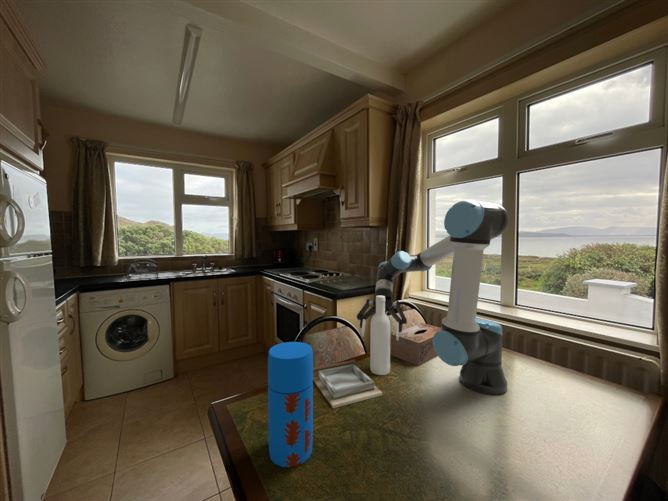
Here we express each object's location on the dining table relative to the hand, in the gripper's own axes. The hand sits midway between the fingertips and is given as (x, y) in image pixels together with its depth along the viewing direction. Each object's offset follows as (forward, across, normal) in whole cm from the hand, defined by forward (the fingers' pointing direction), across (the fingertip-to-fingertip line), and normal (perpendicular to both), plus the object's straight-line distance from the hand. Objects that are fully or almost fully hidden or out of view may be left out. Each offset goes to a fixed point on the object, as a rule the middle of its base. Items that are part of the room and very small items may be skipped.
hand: (379, 337), depth 105 cm
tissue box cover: (-8, -16, -28) cm, 34 cm away
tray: (+19, +10, -1) cm, 22 cm away
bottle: (+9, 0, -12) cm, 15 cm away
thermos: (+42, +16, +22) cm, 50 cm away
